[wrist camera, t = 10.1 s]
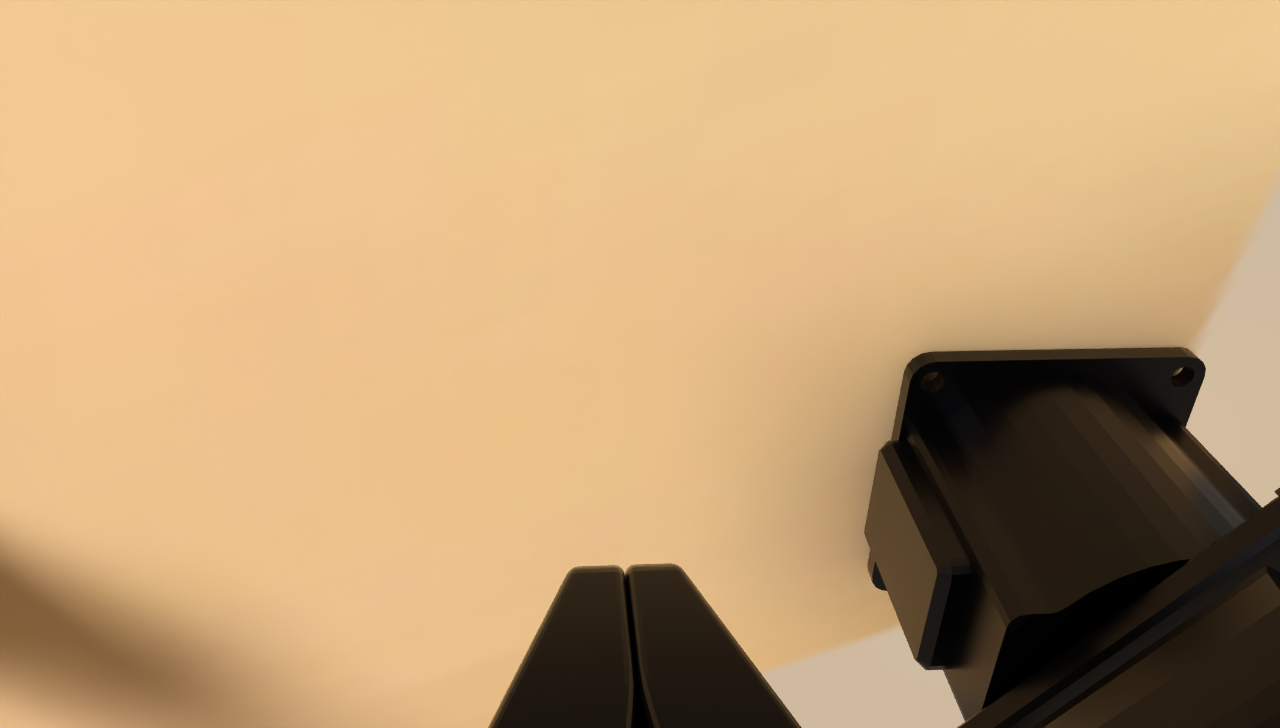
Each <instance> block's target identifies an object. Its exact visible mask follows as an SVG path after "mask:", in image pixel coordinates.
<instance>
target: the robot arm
mask: <svg viewBox="0 0 1280 728" xmlns="http://www.w3.org/2000/svg"><path fill="white" fill-rule="evenodd" d="M1182 367H1183V369H1182V370H1181V372H1180V373H1178V374H1177V375H1175V376H1172V375H1173V373H1174V372H1175V371H1176V370H1178V369H1179V368H1182ZM1205 370H1206V368H1205V365H1204V363H1203V362H1202V361H1201V360H1200V359H1199V358H1198V357H1197V356H1196V355H1195V354H1194V353H1192V352H1191V351H1190V350H1188V349H1186V348H1180V347H1173V348H1119V349H1064V350H1010V351H955V352H928V353H923V354H920V355H918V356H916V357H915V358H913V359H912V360H911V361H910V362H909V363H908V364H907V366H906V369H905V371H904V375H903V380H902V386H901V391H900V396H899V401H898V407H897V412H896V417H895V423H894V428H893V433H892V438H891V441H888V442H886V443H885V445H884V446H883V447H882V448H881V449H880V450H879V454H878V459H877V465H876V470H875V476H874V481H873V487H872V492H871V498H870V503H869V509H868V514H867V520H866V525H865V537H866V539H867V542H868V544H869V547H870V555H869V560H868V572H869V575H870V577H871V580H872V582H873V584H874V585H875V587H877V588H879V589H881V590H885V591H887V592H888V594H889V596H890V599H891V601H892V604H893V606H894V609H895V611H896V614H897V616H898V619H899V621H900V624H901V626H902V629H903V631H904V634H905V636H906V639H907V641H908V644H909V646H910V649H911V651H912V654H913V656H914V659H915V660H916V661H917V662H918V663H919V664H920V665H921V666H922V667H923V668H924V669H925V670H939V669H940V670H943V671H944V673H945V676H946V678H947V680H948V683H949V685H950V687H951V690H952V692H953V694H954V697H955V699H956V701H957V704H958V706H959V708H960V711H961V713H962V715H963V718H964V720H965V722H964V723H963V724H961V725H960V726H959V727H957V728H1280V488H1279V489H1277V490H1276V491H1275V493H1276V494H1277V495H1278V497H1277V498H1275V499H1274V500H1273V501H1271V502H1270V503H1269V504H1267V505H1266V506H1264V507H1263V508H1262V507H1261V506H1260V505H1259V504H1258V503H1257V502H1256V501H1255V500H1254V499H1253V498H1252V497H1251V496H1250V494H1249V493H1248V492H1247V491H1246V490H1245V489H1244V488H1243V487H1242V486H1241V485H1240V484H1239V483H1238V482H1237V481H1236V480H1235V479H1234V478H1233V477H1232V476H1231V475H1230V474H1229V473H1228V471H1226V470H1225V468H1224V467H1223V466H1222V465H1220V463H1219V462H1218V461H1217V460H1216V459H1215V458H1214V457H1213V456H1212V455H1211V454H1210V453H1209V452H1208V451H1207V450H1206V449H1205V448H1204V446H1202V444H1201V443H1200V442H1199V441H1198V440H1197V439H1196V438H1195V437H1194V436H1193V435H1192V434H1191V433H1190V432H1189V431H1188V430H1187V429H1186V428H1185V427H1186V424H1187V422H1188V419H1189V416H1190V414H1191V411H1192V408H1193V406H1194V403H1195V400H1196V398H1197V395H1198V393H1199V390H1200V387H1201V385H1202V382H1203V379H1204V377H1205ZM931 372H938V374H937V376H936V377H935V378H934V379H933V380H931V381H928V382H921V381H922V379H923V377H924V376H925V375H927V374H928V373H931ZM1171 376H1172V377H1171ZM488 728H801V726H799V724H798V722H797V721H796V720H795V718H794V717H793V716H792V714H791V713H790V712H789V710H788V709H787V708H786V707H785V705H784V704H783V702H782V701H781V700H780V698H779V697H778V696H777V694H776V693H775V692H774V690H773V689H772V688H771V686H770V685H769V684H768V683H767V681H766V680H765V678H764V677H763V676H762V674H761V673H760V672H759V670H758V669H757V668H756V666H755V665H754V664H753V662H752V661H751V660H750V658H749V657H748V656H747V654H746V653H745V652H744V650H743V649H742V648H741V646H740V645H739V644H738V642H737V641H736V640H735V638H734V637H733V636H732V634H731V633H730V632H729V630H728V629H727V628H726V626H725V625H724V624H723V622H722V621H721V620H720V618H719V617H718V616H717V614H716V613H715V612H714V610H713V609H712V608H711V606H710V605H709V604H708V602H707V601H706V600H705V598H704V597H703V596H702V594H701V593H700V592H699V590H698V589H697V588H696V586H695V585H694V584H693V582H692V581H691V580H690V578H689V577H688V576H687V574H686V573H685V572H684V571H683V569H682V568H681V567H679V566H678V565H675V564H641V565H631V566H630V567H629V568H628V569H627V571H626V572H625V574H624V571H623V570H622V568H620V567H619V566H615V565H610V566H581V567H575V568H573V569H571V570H570V571H569V572H568V574H567V575H566V577H565V579H564V581H563V583H562V585H561V587H560V588H559V590H558V592H557V594H556V596H555V598H554V600H553V602H552V604H551V606H550V608H549V610H548V612H547V614H546V616H545V618H544V620H543V622H542V624H541V626H540V628H539V630H538V631H537V633H536V635H535V637H534V639H533V641H532V643H531V645H530V647H529V649H528V651H527V653H526V655H525V657H524V659H523V661H522V663H521V665H520V667H519V669H518V671H517V673H516V674H515V676H514V678H513V680H512V682H511V684H510V686H509V688H508V690H507V692H506V694H505V696H504V698H503V700H502V702H501V704H500V706H499V708H498V710H497V712H496V714H495V716H494V717H493V719H492V721H491V723H490V725H489V727H488Z"/></svg>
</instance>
